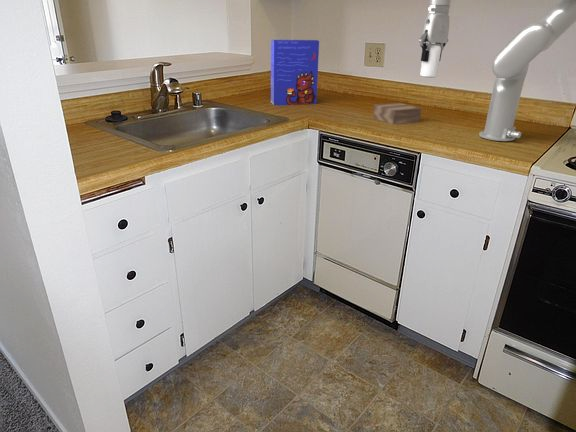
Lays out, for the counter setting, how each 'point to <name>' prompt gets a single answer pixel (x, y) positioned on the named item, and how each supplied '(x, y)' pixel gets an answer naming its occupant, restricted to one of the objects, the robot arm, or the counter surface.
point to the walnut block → (396, 113)
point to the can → (431, 62)
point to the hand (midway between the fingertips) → (430, 60)
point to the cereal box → (294, 71)
